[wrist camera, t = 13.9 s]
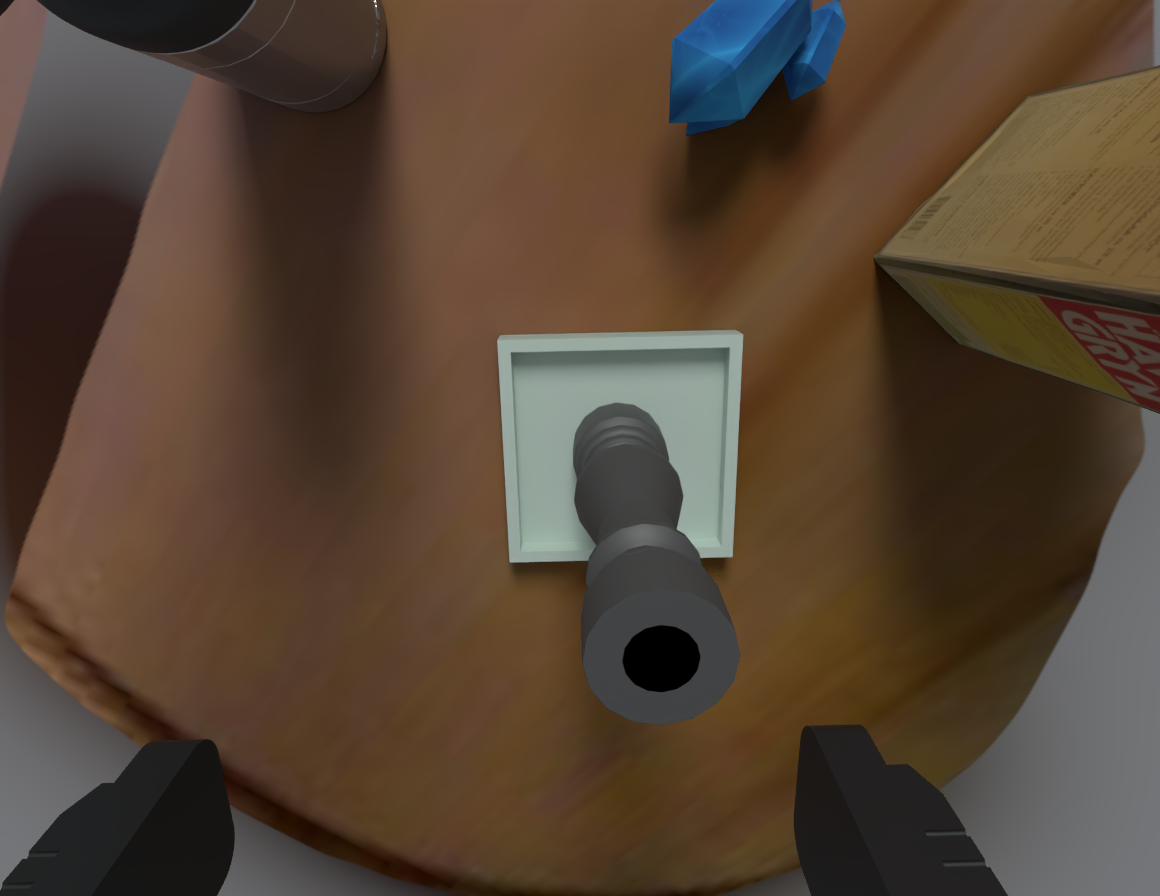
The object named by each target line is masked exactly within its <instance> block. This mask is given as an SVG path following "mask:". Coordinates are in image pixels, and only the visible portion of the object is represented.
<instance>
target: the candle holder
mask: <svg viewBox="0 0 1160 896" xmlns="http://www.w3.org/2000/svg"><path fill="white" fill-rule="evenodd" d="M573 466H574V470H575V473H576V477H577V482H576V489H575V496H574V504H575V507H576V511H577V514H578V518H579V521H580V523H581V524H582V526H583V527H584V528H585V530H586V531H587V533H588V534H589V536H590V537H591V538H592V540H593V541H594V543H595V544H596V547H595V549H594V550H593V552H592V553H591V555H590V556H589V560H588V566H587V572H586V579H585V580H586V585H587V588H588V590H587V591H586V593H585V597H584V604H583V610H582V616H581V626H582V663H583V667H584V670H585V674H586V677H587V680H588V684H589V687H590V689H591V691H592V692H593V693H594V694H595V695H596V696H597V697H598V698H599V700H600V701H601V702H602V703H603V704H604V705H605V706H606V707H607V709H609V710H611V711H613V712H615V713H617V714H619V715H621V716H623V717H625V718H627V719H629V720H631V721H633V722H640V723H649V724H658V725H665V724H670V723H674V722H679V721H683V720H688V719H692V718H694V717H695V716H697V715H699V714H700V713H702V712H704V711H705V710H707V709H708V708H710V707H712V706H713V705H715V704H717V703H718V701H719V700H720V699H721V697H722V696H723V695H724V693H725V692H726V691H727V689H728V688H729V687H730V686H731V684H732V683H733V682H734V679H735V675H736V671H737V667H738V662H739V658H740V651H739V647H738V642H737V638H736V633H735V629H734V626H733V624H732V621H731V618H730V616H729V613H728V611H727V608H726V606H725V603H724V601H723V598H722V596H721V593H720V590H719V588H718V586H717V584H716V583H715V582H714V580H713V579H712V578H711V577H710V575H709V574H708V573H707V571H706V570H705V569H704V568H703V566H702V563H701V558H700V554H699V552H698V550H697V549H696V548H695V547H694V545H693V544H692V543H691V541H690V540H689V539H688V538H687V536H686V535H685V534H684V533H682V532H680V531H678V530H677V526H678V521H679V517H680V512H681V507H682V502H683V491H682V487H681V483H680V478H679V475H678V473H677V472H676V470H675V469H674V468H673V466H672V465H671V464H670V462H669V455H668V451H667V447H666V442H665V440H664V437H663V435H662V432H661V430H660V427H659V426H658V425H657V423H656V422H655V421H654V419H653V418H652V417H651V415H650V414H649V413H647V412H646V411H644V410H642V409H640V408H639V407H637V406H635V405H632V404H625V403H617V402H616V403H612V404H608V405H604V406H600V407H598V408H596V409H595V410H594V411H592V412H591V413H590V414H588V415H587V416H585V417H584V419H583V420H582V422H581V424H580V425H579V427H578V428H577V430H576V432H575V438H574V445H573Z"/></svg>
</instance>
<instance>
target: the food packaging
mask: <svg viewBox="0 0 1160 896" xmlns="http://www.w3.org/2000/svg"><path fill="white" fill-rule="evenodd" d="M874 258H875V261H876V263H878V264H879V265H880V266H881V267H882V268H883V269H884V270H885V271H886V272H887V273H888V274H889V275H890V276H891V277H892V278H893V279H894V280H895V281H896V282H897V283H898V284H899V285H900V286H901V287H902V288H903V289H904V290H905V291H906V292H907V293H908V294H909V295H911V296H912V297H913V298H914V299H915V300H916V301H917V302H918V303H919V304H920V305H921V306H922V307H923V308H924V309H925V310H926V312H927V313H928V314H929V315H930V316H932V317H933V318H934V319H935V320H936V321H937V322H938V323H939V324H940V325H941V326H942V328H943V329H944V330H945V331H946V332H947V333H948V334H949V335H951V336H952V337H953V338H954V339H955V340H956V342H957V343H958V344H959V345H963V346H966V347H969V348H972V349H975V350H978V351H981V352H984V353H987V354H989V355H992V356H995V357H998V358H1001V359H1004V360H1007V361H1009V362H1012V363H1015V364H1018V365H1021V366H1024V367H1027V368H1031V369H1034V370H1037V371H1040V372H1043V373H1046V374H1049V375H1052V376H1054V377H1057V378H1060V379H1063V380H1066V381H1069V382H1072V383H1075V384H1077V385H1080V386H1083V387H1086V388H1089V389H1092V390H1095V391H1098V392H1101V393H1104V394H1107V395H1110V396H1113V397H1115V398H1118V399H1121V400H1124V401H1126V402H1129V403H1132V404H1135V405H1137V406H1140V407H1143V408H1146V409H1149V410H1151V411H1154V412H1156V413H1159V414H1160V65H1159V66H1155V67H1150V68H1146V69H1142V70H1138V71H1133V72H1129V73H1125V74H1121V75H1116V76H1112V77H1108V78H1104V79H1099V80H1094V81H1090V82H1085V83H1080V84H1076V85H1071V86H1067V87H1062V88H1058V89H1054V90H1049V91H1045V92H1041V93H1037V94H1035V95H1031V96H1028V97H1027V98H1026V99H1025V100H1024V101H1023V102H1022V103H1021V104H1020V105H1019V106H1018V107H1017V108H1016V109H1015V110H1014V111H1013V112H1012V113H1011V114H1010V115H1009V116H1008V117H1007V118H1006V119H1005V120H1004V121H1003V122H1002V123H1001V124H1000V125H999V126H998V127H997V128H996V129H995V130H994V132H993V133H992V134H991V135H990V136H989V137H988V138H987V139H986V140H985V141H984V142H983V143H982V144H981V145H980V146H979V147H978V148H977V149H976V150H975V151H974V152H973V153H972V154H971V155H970V156H969V157H968V158H967V159H966V161H965V162H964V163H963V164H962V165H961V166H960V167H959V168H958V169H957V170H956V171H955V172H954V173H953V174H952V175H951V176H950V177H949V178H948V179H947V180H946V181H945V182H944V183H943V184H942V186H941V187H940V188H939V189H938V190H937V191H936V192H935V193H934V194H933V195H932V196H931V197H930V198H929V199H928V200H926V201H925V202H924V203H923V204H922V205H921V206H920V207H919V208H918V209H917V210H916V211H915V212H914V214H913V215H912V216H911V217H910V218H909V219H908V220H907V221H906V223H905V224H904V225H903V226H902V227H901V228H900V229H899V230H898V231H897V232H896V233H895V234H894V236H893V237H892V238H891V239H890V240H889V241H888V242H887V243H886V245H885V246H884V247H883V248H882V249H881V250H880V251H879V252H878V253H877V254H876V256H875V257H874Z"/></svg>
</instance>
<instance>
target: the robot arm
mask: <svg viewBox="0 0 1160 896" xmlns="http://www.w3.org/2000/svg"><path fill="white" fill-rule="evenodd" d="M13 1H14V0H0V16H1V15H2V14H3V13H4V12H5V11H6V10H7V8H8V7H9V6H10V5H11V3H12V2H13ZM37 1H38V2H39V3H41V4H42V5H43V6H44V7H46V8H47V9H48V10H49V11H51V12H52V13H53V14H55V15H56V16H58V17H59V18H61V19H63V20H64V21H66V22H68V23H69V24H71V25H73V26H75V27H77V28H79V29H81V30H83V31H85V32H87V33H89V34H92V35H94V36H97V37H99V38H101V39H104V40H107V41H110V42H112V43H115V44H118V45H120V46H123V47H126V48H130V49H132V50H135V51H138V52H140V53H143V54H146V55H148V56H151V57H154V58H156V59H159V60H162V61H166V62H168V63H171V64H174V65H176V66H179V67H182V68H184V69H187V70H190V71H192V72H195V73H198V74H201V75H203V76H206V77H209V78H211V79H214V80H217V81H219V82H222V83H225V84H227V85H230V86H233V87H236V88H238V89H241V90H244V91H246V92H249V93H252V94H254V95H257V96H259V97H262V98H264V99H267V100H270V101H272V102H275V103H278V104H280V105H283V106H286V107H289V108H291V109H295V110H300V111H304V112H327V111H331V110H335V109H339V108H342V107H343V106H345V105H347V104H349V103H351V102H353V101H355V100H356V99H357V98H358V97H359V96H360V95H361V94H363V93H364V92H365V91H366V90H367V88H368V87H369V86H370V84H371V83H372V81H373V80H374V79H375V77H376V75H377V73H378V71H379V68H380V66H381V64H382V61H383V57H384V52H385V47H386V20H385V15H384V9H383V5H382V2H381V0H37ZM794 831H795V840H796V846H797V852H798V856H799V860H800V864H801V867H802V870H803V873H804V876H805V879H806V882H807V884H808V887H809V890H810V893H811V896H1008V895H1007V894H1006V892H1005V891H1004V889H1003V887H1002V886H1001V884H1000V882H999V881H998V879H997V878H996V876H995V875H994V873H993V872H992V870H991V868H990V867H986V865H985V859H984V857H983V856H982V854H981V853H980V851H979V850H978V848H977V847H976V845H975V844H974V842H973V840H972V839H971V837H969V836H967V835H966V832H965V828H964V827H963V825H962V823H961V822H960V820H959V818H958V817H957V815H956V814H955V812H954V811H953V809H952V808H951V806H950V804H949V803H948V801H947V800H946V798H945V797H944V795H943V794H942V793H941V792H940V791H939V790H938V789H937V788H935V787H934V786H933V785H932V784H931V783H929V782H928V781H927V780H926V779H925V778H924V777H922V776H921V775H920V774H919V773H918V772H916V771H915V770H914V769H913V768H912V767H911V766H909V765H908V764H900V765H886V763H885V761H884V760H883V758H882V756H881V754H880V753H879V751H878V749H877V747H876V746H875V744H874V742H873V740H872V739H871V737H870V735H869V733H868V732H867V730H866V729H865V728H864V727H863V726H862V725H821V726H805V727H804V728H803V730H802V734H801V740H800V751H799V762H798V774H797V785H796V796H795V808H794ZM234 838H235V834H234V825H233V820H232V815H231V811H230V805H229V800H228V796H227V791H226V786H225V781H224V777H223V772H222V767H221V762H220V758H219V753H218V749H217V747H216V745H215V744H214V742H213V741H211V740H208V739H205V740H166V741H151V742H149V743H147V744H146V745H145V746H144V747H143V748H142V749H141V750H140V751H139V752H138V754H137V755H136V756H135V757H134V758H133V760H132V761H131V762H130V764H129V765H128V766H127V767H126V768H125V770H124V771H123V772H122V773H121V775H120V776H119V777H118V778H117V780H116V781H115V782H114V783H102V784H100V786H98V787H96V788H95V789H94V790H92V791H91V792H90V793H88V794H87V795H86V796H85V797H83V798H82V799H80V800H79V801H78V802H76V803H75V804H74V805H72V806H71V807H70V808H68V809H67V810H66V811H64V812H63V813H62V814H60V815H59V817H58V818H57V819H56V820H55V821H54V823H53V824H52V825H51V826H50V827H49V829H48V830H47V831H46V832H45V833H44V834H43V835H42V837H41V838H40V839H39V840H38V842H37V843H36V844H35V845H34V846H33V847H32V848H31V850H30V851H29V856H28V858H27V859H22V860H21V862H20V863H19V864H18V865H17V866H16V867H15V869H14V870H13V871H12V872H11V873H10V874H9V876H8V877H7V878H6V879H5V880H4V882H3V886H2V889H1V890H0V896H217V895H218V892H219V891H220V889H221V887H222V885H223V883H224V881H225V879H226V877H227V874H228V871H229V868H230V865H231V860H232V856H233V851H234V840H235V839H234Z"/></svg>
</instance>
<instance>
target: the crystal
mask: <svg viewBox="0 0 1160 896" xmlns="http://www.w3.org/2000/svg"><path fill="white" fill-rule="evenodd" d="M845 27H846V22H845V19H844V16H843V12H842V9H841V6H840V3H839V0H834V1H832V2H830V3H828V4H826V5H824V6H822V7H820V8H818V9H816V10H814V11H812V0H716V1H715V2H714V3H713V4H712V5H710V6H709V7H708V8H707V9H706V10H705V11H704V12H703V13H702V14H700V15H699V16H698V17H697V18H696V19H695V20H694V21H693V22H692V23H691V24H689V25H688V26H687V27H686V28H685V29H684V30H683V31H682V32H681V33H679V34H678V35H677V36H676V37H675V38H674V39H673V40H672V56H671V84H670V112H669V123H683V122H688V125H687V131H686V136H688V135H692V134H696V133H700V132H705V131H709V130H713V129H717V128H721V127H726V126H729V125H731V124H733V123H734V122H736V121H737V120H742V119H744V118H745V117H746V115H747V114H748V113H749V112H750V110H751V109H752V108H753V106H754V105H755V104H756V102H757V101H758V100H759V98H760V97H761V96H762V94H763V93H764V92H765V91H766V89H767V88H768V87H769V85H770V84H771V83H772V81H773V80H774V79H775V77H776V76H777V75H778V73H779V72H780V71H781V70H782V71H783V74H784V78H785V82H786V85H787V89H788V93H789V96H790V100H791V101H792V100H794V99H795V98H797V97H799V96H801V95H803V94H805V93H807V92H809V91H810V90H812V89H814V88H816V87H818V86H820V85H822V84H824V83H825V80H826V77H827V75H828V72H829V69H830V67H831V64H832V61H833V59H834V56H835V53H836V51H837V48H838V45H839V43H840V40H841V37H842V35H843V32H844V30H845Z"/></svg>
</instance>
